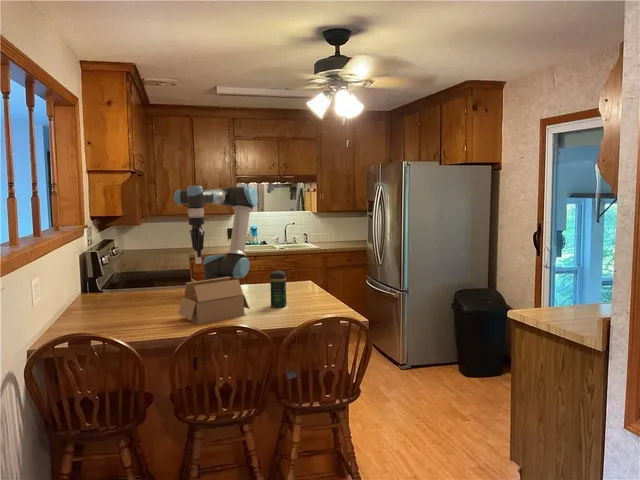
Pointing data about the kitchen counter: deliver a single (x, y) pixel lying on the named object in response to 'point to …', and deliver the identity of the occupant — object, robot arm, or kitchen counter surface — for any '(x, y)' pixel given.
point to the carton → (212, 309)
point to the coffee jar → (278, 289)
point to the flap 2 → (218, 290)
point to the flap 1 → (190, 286)
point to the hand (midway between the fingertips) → (198, 263)
